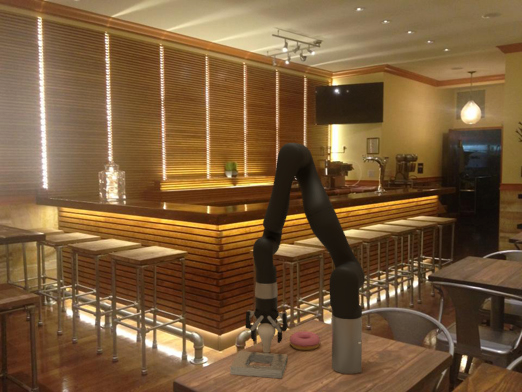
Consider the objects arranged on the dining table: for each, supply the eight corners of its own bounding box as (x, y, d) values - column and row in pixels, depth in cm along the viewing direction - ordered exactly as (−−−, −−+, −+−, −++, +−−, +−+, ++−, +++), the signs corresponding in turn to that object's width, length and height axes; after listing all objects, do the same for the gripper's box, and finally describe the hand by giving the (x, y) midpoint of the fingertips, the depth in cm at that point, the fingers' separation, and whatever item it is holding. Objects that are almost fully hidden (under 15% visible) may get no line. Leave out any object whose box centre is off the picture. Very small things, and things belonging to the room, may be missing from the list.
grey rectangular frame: (287, 362, 155) (287, 354, 155) (281, 378, 144) (281, 370, 144) (239, 358, 159) (239, 351, 158) (230, 374, 147) (230, 366, 147)
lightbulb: (254, 354, 162) (254, 322, 161) (262, 348, 167) (262, 317, 166) (270, 358, 159) (270, 325, 158) (278, 351, 164) (278, 320, 163)
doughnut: (300, 354, 162) (300, 342, 162) (283, 343, 172) (283, 332, 171) (326, 348, 167) (326, 336, 167) (309, 338, 177) (309, 327, 176)
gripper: (288, 292, 164) (288, 338, 165) (248, 290, 166) (248, 335, 168) (285, 298, 156) (285, 347, 157) (243, 296, 159) (243, 344, 160)
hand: (266, 341), depth 163 cm, fingers open, 8 cm apart
